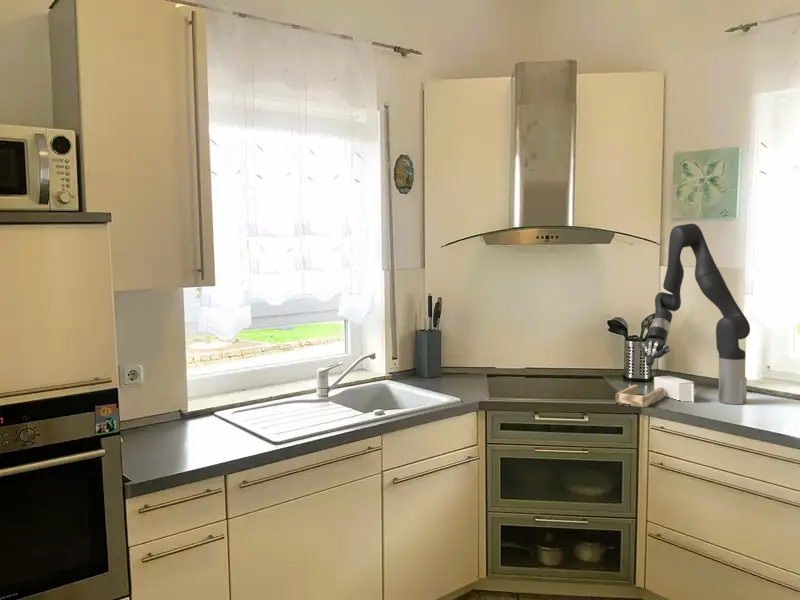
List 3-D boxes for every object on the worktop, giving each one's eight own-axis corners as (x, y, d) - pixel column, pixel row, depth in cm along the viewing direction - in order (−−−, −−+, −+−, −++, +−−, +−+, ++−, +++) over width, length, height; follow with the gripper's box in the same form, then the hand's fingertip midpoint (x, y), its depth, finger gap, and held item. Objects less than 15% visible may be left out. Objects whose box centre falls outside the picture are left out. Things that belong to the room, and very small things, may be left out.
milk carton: (653, 393, 282) (686, 403, 264) (653, 376, 281) (686, 385, 263) (668, 392, 284) (701, 401, 266) (668, 375, 283) (701, 383, 265)
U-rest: (663, 397, 275) (663, 387, 274) (646, 407, 259) (646, 397, 259) (634, 394, 282) (634, 384, 282) (615, 403, 266) (615, 393, 266)
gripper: (640, 325, 288) (630, 357, 279) (673, 326, 280) (663, 360, 271) (645, 336, 293) (635, 368, 284) (677, 337, 284) (667, 371, 276)
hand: (648, 364), depth 278 cm, fingers closed
